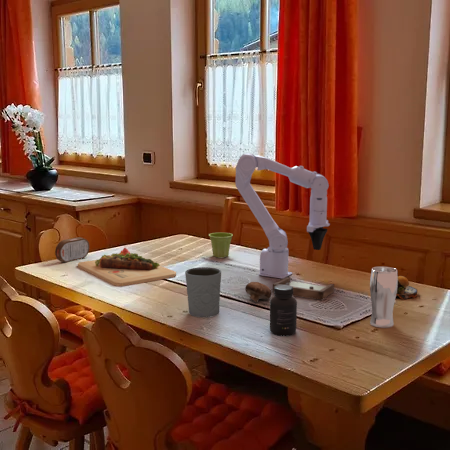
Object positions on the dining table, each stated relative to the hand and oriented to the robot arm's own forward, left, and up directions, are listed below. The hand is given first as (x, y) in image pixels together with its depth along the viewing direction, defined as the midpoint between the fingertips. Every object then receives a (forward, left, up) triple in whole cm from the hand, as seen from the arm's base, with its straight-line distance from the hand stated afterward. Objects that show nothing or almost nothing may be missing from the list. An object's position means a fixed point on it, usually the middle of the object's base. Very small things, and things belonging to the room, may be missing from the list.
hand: (317, 249), depth 209 cm
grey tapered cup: (-12, -54, -10) cm, 56 cm away
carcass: (+4, -20, -9) cm, 22 cm away
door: (+4, -19, -10) cm, 22 cm away
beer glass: (+34, -38, -10) cm, 52 cm away
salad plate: (+30, -7, -10) cm, 32 cm away
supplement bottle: (+14, -57, -10) cm, 59 cm away
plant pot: (-44, +9, -10) cm, 46 cm away
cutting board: (-61, -29, -10) cm, 68 cm away
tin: (-89, -26, -10) cm, 93 cm away
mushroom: (-4, -36, -10) cm, 37 cm away
